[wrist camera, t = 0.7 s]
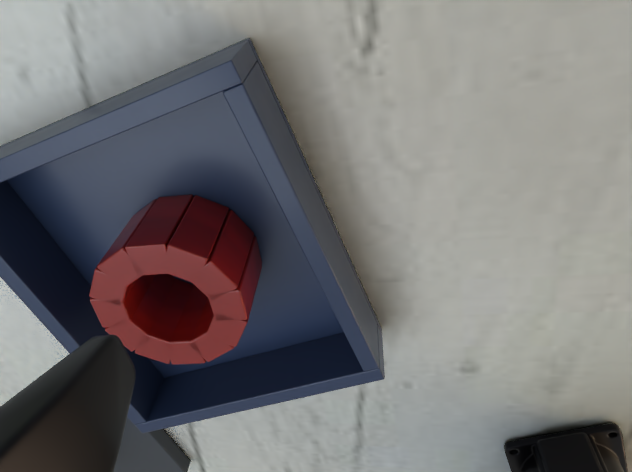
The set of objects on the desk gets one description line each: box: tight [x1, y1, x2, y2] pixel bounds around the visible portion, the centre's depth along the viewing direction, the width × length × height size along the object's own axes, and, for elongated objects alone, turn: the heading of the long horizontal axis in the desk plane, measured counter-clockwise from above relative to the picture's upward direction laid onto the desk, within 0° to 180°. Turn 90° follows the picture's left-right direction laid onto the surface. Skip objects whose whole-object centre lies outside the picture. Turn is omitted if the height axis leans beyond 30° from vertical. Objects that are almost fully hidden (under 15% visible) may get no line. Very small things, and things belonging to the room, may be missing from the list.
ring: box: [89, 194, 262, 365], centre depth 22 cm, size 7×7×4 cm
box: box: [0, 38, 385, 433], centre depth 23 cm, size 16×14×3 cm
